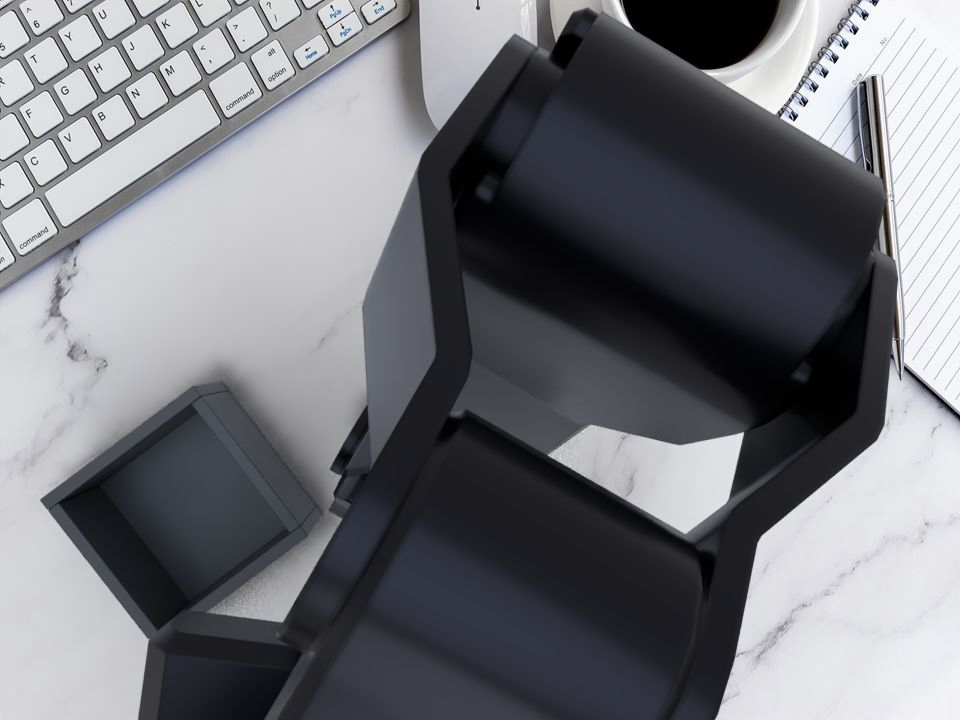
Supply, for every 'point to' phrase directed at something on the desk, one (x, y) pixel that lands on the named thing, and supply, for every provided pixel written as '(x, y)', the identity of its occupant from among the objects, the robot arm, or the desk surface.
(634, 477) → the desk surface
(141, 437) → the waste bin
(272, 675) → the robot arm
